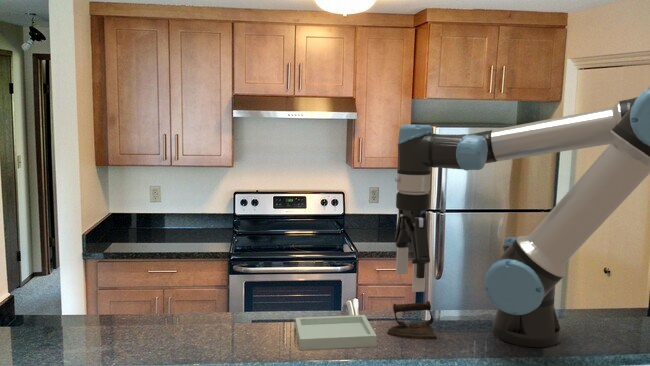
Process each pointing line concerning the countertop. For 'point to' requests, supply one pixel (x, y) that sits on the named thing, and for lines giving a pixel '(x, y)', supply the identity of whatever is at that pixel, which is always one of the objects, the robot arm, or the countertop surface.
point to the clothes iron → (412, 329)
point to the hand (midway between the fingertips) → (409, 282)
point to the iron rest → (334, 332)
